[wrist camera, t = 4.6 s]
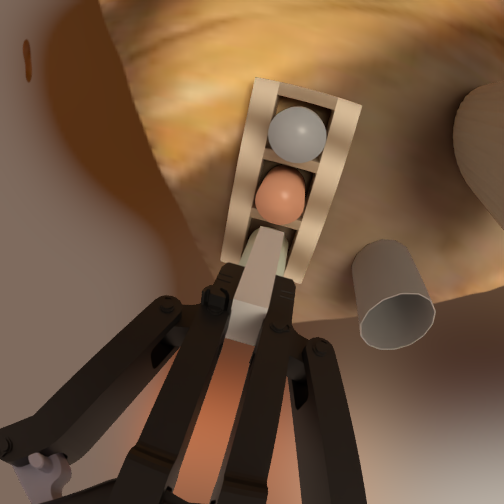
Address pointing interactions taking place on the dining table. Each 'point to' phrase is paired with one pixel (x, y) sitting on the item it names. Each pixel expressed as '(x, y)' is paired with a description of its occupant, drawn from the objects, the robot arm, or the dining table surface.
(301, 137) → the grey egg
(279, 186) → the brown egg
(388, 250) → the cup
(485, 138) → the canister
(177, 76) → the dining table surface
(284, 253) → the pale green egg
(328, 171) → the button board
